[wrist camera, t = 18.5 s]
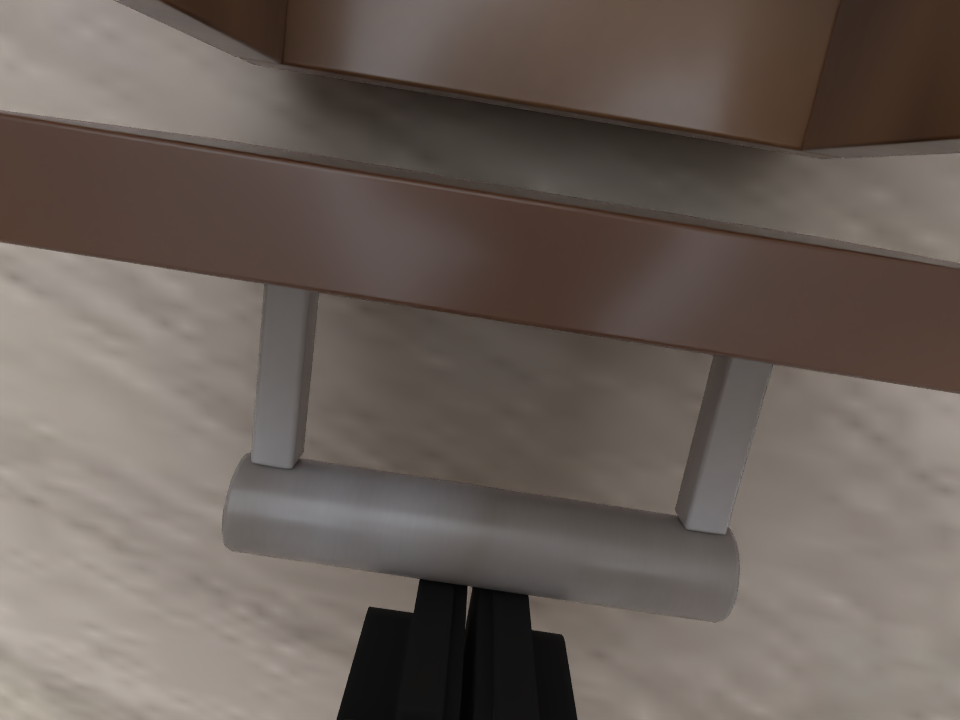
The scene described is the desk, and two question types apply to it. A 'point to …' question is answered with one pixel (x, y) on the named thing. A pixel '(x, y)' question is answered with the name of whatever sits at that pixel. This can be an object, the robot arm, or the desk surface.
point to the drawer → (529, 253)
